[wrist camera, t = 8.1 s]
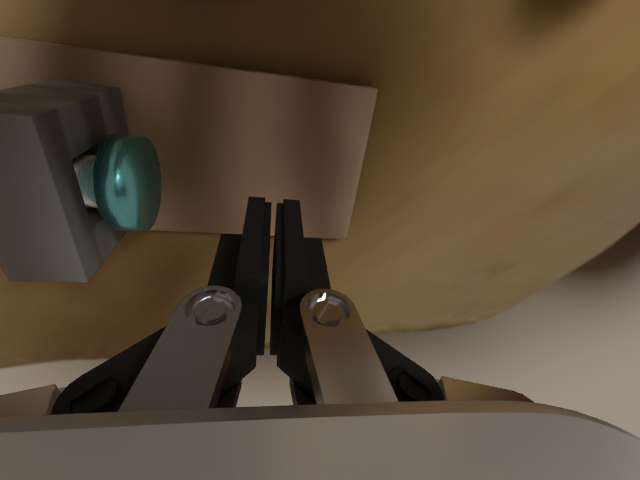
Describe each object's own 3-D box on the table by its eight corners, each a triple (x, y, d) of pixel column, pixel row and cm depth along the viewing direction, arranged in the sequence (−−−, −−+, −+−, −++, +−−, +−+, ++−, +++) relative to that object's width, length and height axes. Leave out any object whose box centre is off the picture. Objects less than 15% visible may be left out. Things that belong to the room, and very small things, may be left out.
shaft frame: (373, 86, 18) (430, 115, 12) (344, 232, 24) (371, 308, 17) (-377, -16, 13) (-1091, -73, 6) (-196, 205, 18) (-470, 304, 11)
